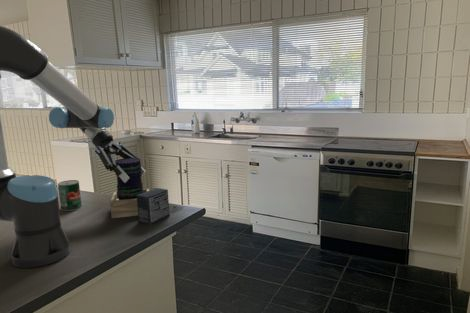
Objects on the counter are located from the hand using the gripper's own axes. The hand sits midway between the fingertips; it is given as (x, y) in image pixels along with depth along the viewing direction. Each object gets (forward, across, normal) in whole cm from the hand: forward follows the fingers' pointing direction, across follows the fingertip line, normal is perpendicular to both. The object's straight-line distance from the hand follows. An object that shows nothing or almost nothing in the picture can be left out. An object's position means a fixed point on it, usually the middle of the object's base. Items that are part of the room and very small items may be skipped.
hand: (135, 176), depth 136 cm
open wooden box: (+8, 0, -12) cm, 14 cm away
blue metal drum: (+4, 0, -8) cm, 9 cm away
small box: (+18, +5, -2) cm, 19 cm away
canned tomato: (-11, +5, -31) cm, 33 cm away
